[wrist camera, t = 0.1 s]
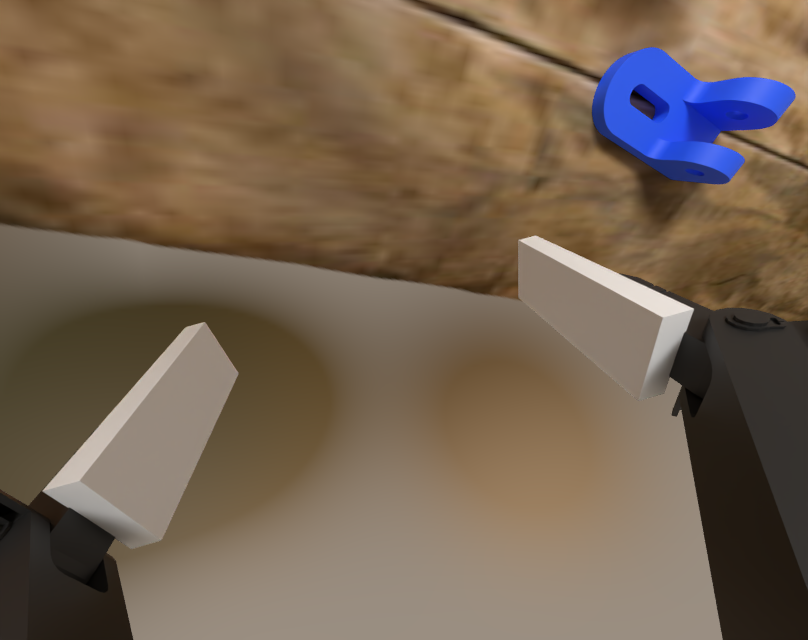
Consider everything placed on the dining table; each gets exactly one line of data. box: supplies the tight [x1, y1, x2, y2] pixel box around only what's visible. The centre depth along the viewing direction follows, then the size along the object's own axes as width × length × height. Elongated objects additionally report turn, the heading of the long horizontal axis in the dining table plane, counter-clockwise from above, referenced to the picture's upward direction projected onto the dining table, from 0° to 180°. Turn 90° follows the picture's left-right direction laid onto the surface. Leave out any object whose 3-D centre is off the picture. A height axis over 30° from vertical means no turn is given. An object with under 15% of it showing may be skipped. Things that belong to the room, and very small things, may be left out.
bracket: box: [592, 47, 795, 184], centre depth 34 cm, size 18×8×9 cm, turn 68°
